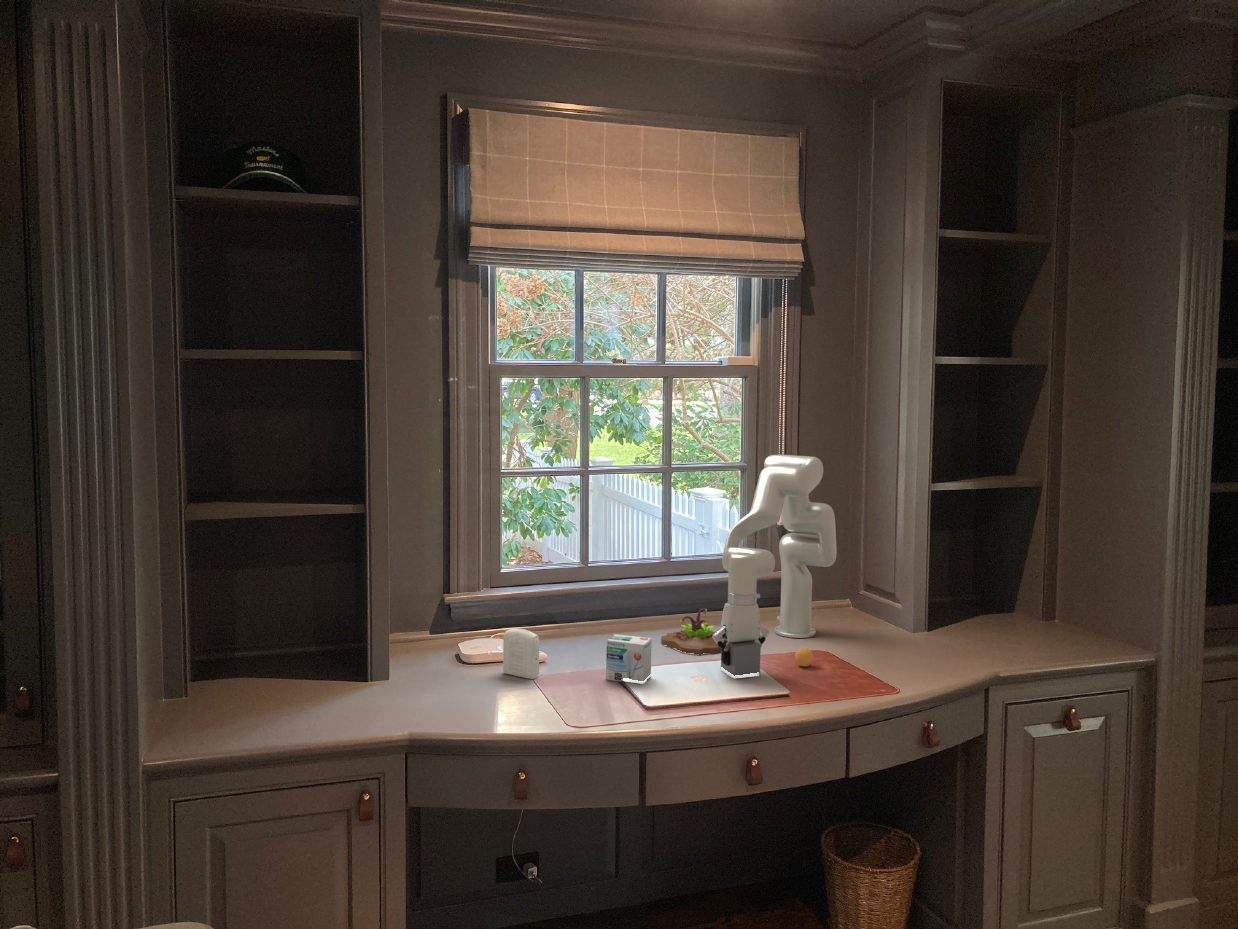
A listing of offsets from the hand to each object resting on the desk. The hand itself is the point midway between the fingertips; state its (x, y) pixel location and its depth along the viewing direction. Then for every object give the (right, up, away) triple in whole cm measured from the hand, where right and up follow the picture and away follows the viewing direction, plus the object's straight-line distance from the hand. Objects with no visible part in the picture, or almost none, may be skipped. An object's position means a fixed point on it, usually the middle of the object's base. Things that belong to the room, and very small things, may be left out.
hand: (740, 662), depth 246 cm
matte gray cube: (0, -3, 0) cm, 3 cm away
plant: (-9, -1, +28) cm, 29 cm away
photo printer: (-59, -3, -3) cm, 59 cm away
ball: (+19, 0, +7) cm, 20 cm away
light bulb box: (-30, -3, -5) cm, 31 cm away
